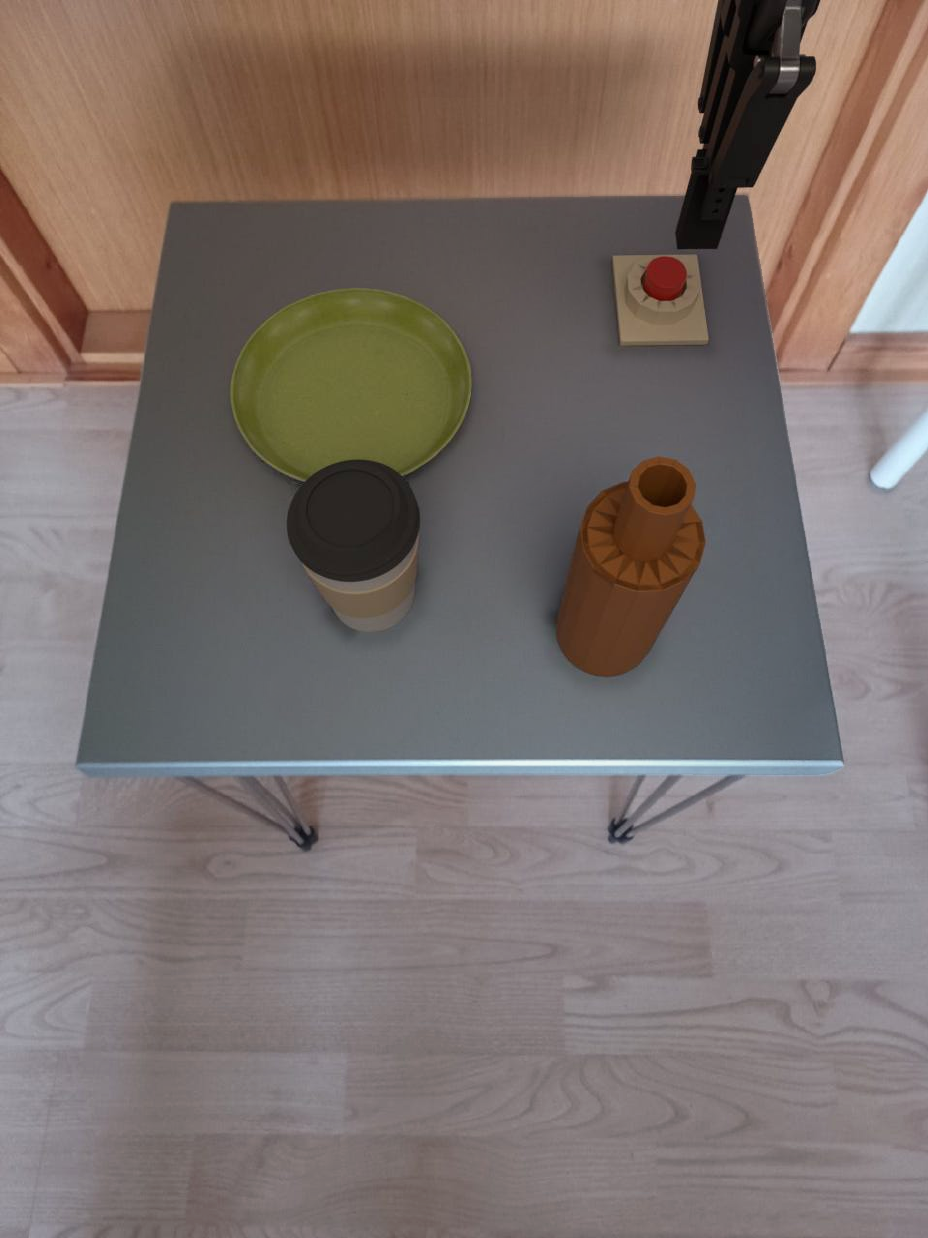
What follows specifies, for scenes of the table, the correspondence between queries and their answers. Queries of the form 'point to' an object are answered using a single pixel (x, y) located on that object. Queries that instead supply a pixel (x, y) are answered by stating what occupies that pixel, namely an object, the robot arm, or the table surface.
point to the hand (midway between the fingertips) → (696, 240)
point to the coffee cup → (358, 541)
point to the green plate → (350, 383)
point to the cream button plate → (657, 305)
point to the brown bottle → (630, 568)
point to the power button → (664, 278)
